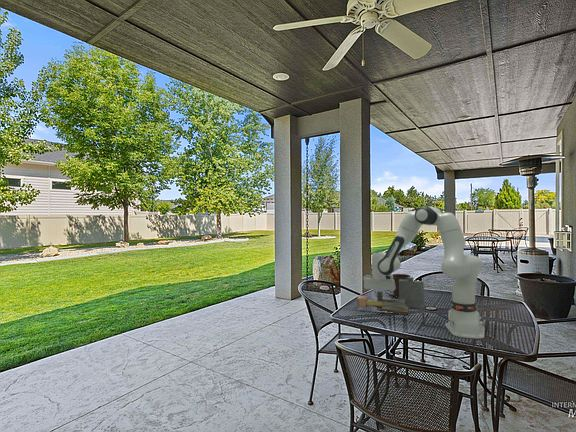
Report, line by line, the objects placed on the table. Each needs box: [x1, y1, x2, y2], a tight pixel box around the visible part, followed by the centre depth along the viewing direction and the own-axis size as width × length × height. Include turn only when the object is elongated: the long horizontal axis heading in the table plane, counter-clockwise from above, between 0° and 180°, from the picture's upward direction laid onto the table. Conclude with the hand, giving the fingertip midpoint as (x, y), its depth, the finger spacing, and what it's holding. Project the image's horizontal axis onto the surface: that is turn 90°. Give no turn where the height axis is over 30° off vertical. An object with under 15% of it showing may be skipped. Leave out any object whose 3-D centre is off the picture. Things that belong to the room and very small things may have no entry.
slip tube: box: [366, 290, 384, 307], centre depth 207 cm, size 3×16×9 cm, turn 68°
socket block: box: [357, 295, 368, 307], centre depth 211 cm, size 6×6×6 cm
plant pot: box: [391, 273, 411, 298], centre depth 233 cm, size 15×15×16 cm
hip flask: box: [398, 276, 426, 310], centre depth 209 cm, size 16×4×20 cm, turn 57°
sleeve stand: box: [373, 298, 409, 316], centre depth 206 cm, size 14×32×7 cm, turn 68°
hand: (379, 296), depth 206 cm, fingers closed on slip tube, 3 cm apart
